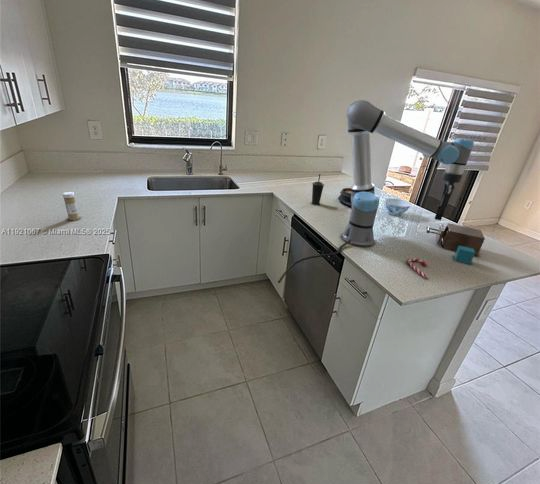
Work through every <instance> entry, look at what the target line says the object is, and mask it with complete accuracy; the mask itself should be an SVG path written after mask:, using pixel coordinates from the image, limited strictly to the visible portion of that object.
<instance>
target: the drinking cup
mask: <svg viewBox="0 0 540 484" xmlns="http://www.w3.org/2000/svg"><path fill="white" fill-rule="evenodd" d="M320 179H321V173H318V179H317V181H314V182H312V193H311V194H312V195H311V204H312V205H314V206H319V205H320V202H321V198H322V195H323V190H324V187H325V183H323V182H322V181H320Z"/></svg>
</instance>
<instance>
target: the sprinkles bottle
mask: <svg viewBox="0 0 540 484" xmlns="http://www.w3.org/2000/svg"><path fill="white" fill-rule="evenodd" d="M62 198H63V201H64V205H65V206H64V207H65V210H66V213H67V218H68V220H69V221H77V220H79V219H80V216H79V210H78V207H77V203H76V199H75V193H74V191H65V192H62Z"/></svg>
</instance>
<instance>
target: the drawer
mask: <svg viewBox="0 0 540 484" xmlns="http://www.w3.org/2000/svg"><path fill="white" fill-rule="evenodd" d="M425 230H426V233H427V234H429V233H430V234H434V235H436V236H435V243H436V245H437V246H440V244H441V245H442V246H443V245H444V244H445V242H446V239H447V236H448V234H449V229H448V226H447V225H445V227H444V224H443V223H440V224H439V227H438V229H437V228H433V227H429V226H426V229H425Z"/></svg>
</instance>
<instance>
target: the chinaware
mask: <svg viewBox="0 0 540 484" xmlns="http://www.w3.org/2000/svg"><path fill="white" fill-rule="evenodd" d="M384 205H385V208H386V209H387V211H388V213H389V214H390V215H392V216H395V217H396V216H401V215H402V214H405V213H406V212H407V211H408V210H409V209H410V207H411V203H410V202H409V201H406V200H403V199H399V198H386V199H385V200H384Z"/></svg>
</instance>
